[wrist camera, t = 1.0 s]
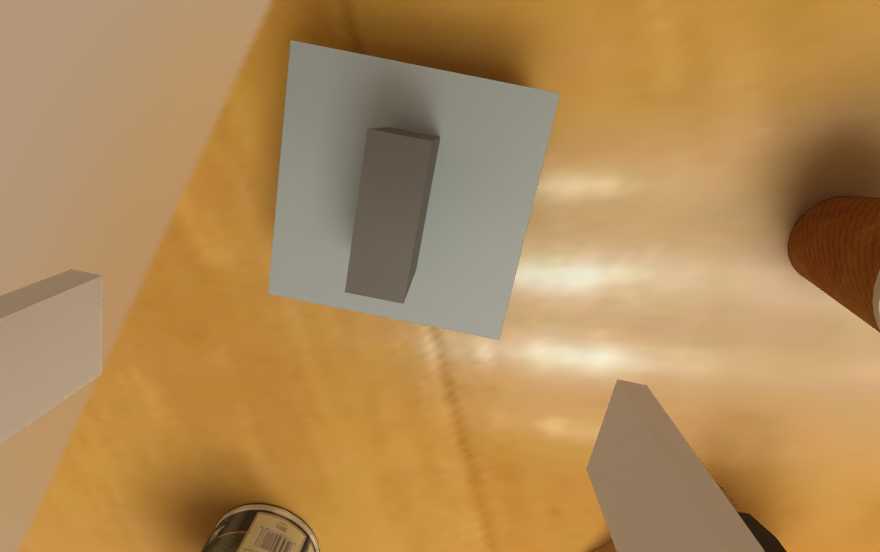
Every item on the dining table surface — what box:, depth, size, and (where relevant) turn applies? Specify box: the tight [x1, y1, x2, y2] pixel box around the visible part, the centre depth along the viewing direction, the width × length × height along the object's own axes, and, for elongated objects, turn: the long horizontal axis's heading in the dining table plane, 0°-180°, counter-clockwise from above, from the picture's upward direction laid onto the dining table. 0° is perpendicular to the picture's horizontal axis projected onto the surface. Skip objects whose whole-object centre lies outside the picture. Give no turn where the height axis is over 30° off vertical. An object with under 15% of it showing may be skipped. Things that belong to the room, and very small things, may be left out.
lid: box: [268, 40, 560, 340], centre depth 27 cm, size 15×15×7 cm
